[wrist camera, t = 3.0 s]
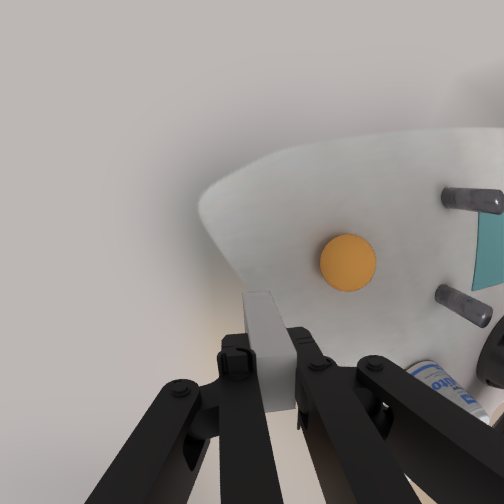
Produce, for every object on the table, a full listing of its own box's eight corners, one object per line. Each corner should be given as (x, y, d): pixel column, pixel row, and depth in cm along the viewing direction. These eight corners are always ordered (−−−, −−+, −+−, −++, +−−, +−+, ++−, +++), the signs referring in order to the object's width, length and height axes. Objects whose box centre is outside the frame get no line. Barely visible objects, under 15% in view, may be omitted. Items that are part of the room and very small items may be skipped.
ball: (360, 279, 30) (384, 295, 24) (313, 284, 29) (330, 303, 24) (361, 229, 29) (387, 237, 23) (312, 232, 28) (331, 240, 23)
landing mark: (514, 278, 33) (514, 279, 32) (471, 290, 32) (472, 291, 32) (520, 198, 30) (521, 199, 30) (478, 194, 29) (479, 194, 29)
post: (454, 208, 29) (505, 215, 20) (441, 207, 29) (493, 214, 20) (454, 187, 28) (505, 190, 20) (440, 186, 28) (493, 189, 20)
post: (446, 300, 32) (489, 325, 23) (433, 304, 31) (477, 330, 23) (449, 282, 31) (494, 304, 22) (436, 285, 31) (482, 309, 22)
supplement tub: (440, 350, 33) (501, 401, 19) (430, 395, 35) (477, 447, 21) (388, 371, 33) (446, 439, 18) (381, 416, 35) (423, 481, 20)
